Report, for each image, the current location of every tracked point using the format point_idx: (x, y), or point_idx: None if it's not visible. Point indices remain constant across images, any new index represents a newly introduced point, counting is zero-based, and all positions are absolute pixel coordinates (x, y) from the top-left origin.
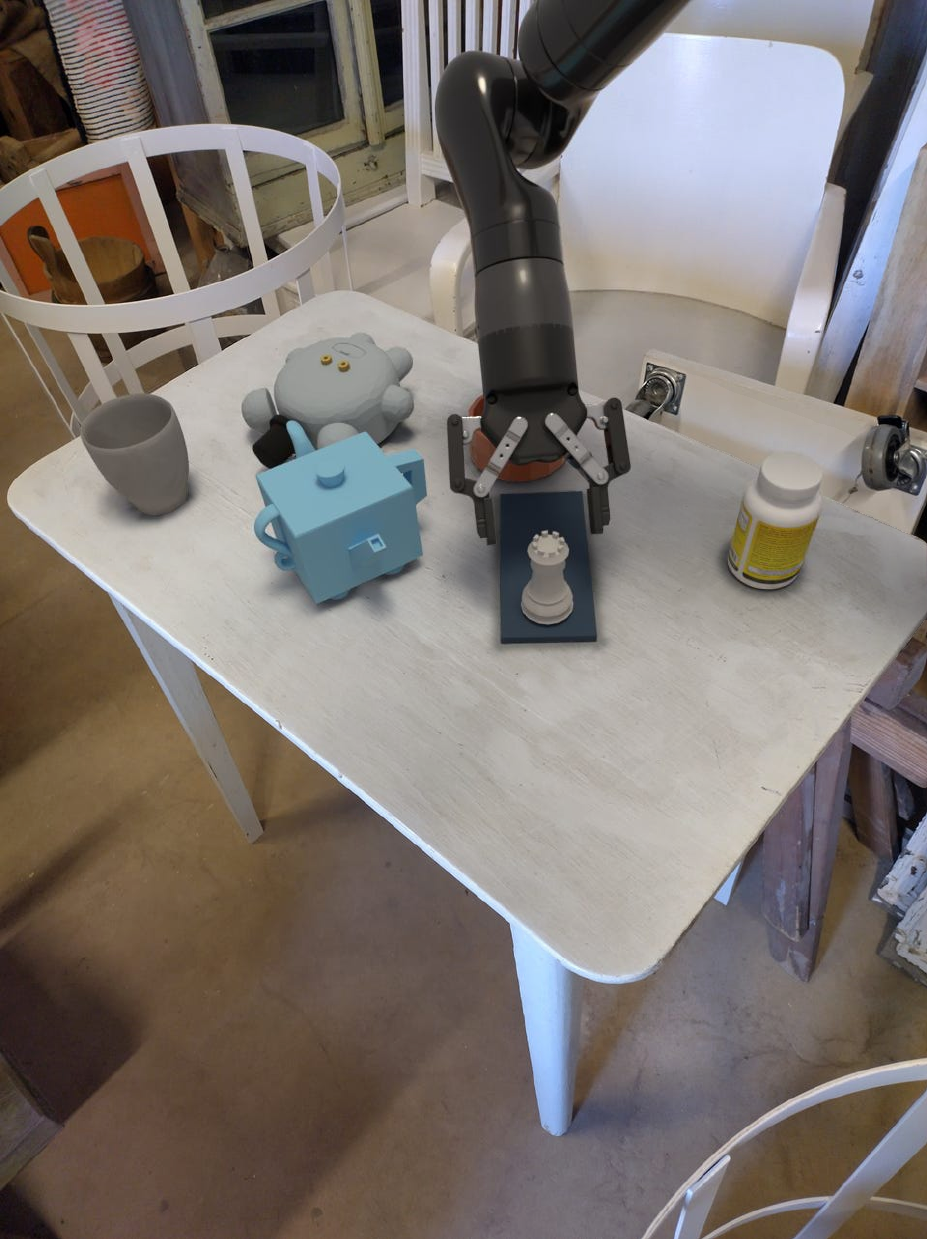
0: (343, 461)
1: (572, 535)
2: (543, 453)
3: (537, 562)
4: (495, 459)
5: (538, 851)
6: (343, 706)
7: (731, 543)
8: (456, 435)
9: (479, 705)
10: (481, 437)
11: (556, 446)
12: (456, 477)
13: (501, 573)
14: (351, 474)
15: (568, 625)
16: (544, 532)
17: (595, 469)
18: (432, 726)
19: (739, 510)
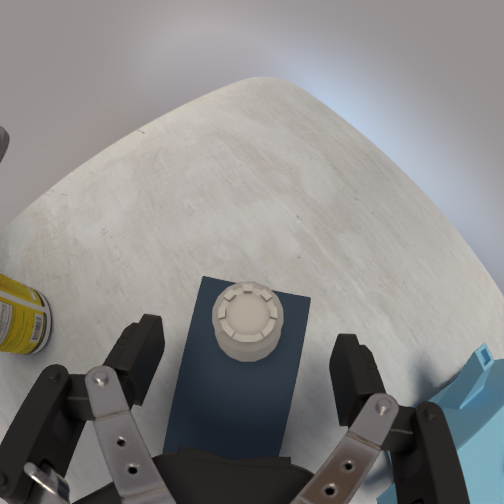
0: (496, 489)
1: (184, 436)
2: (216, 468)
3: (272, 292)
4: (363, 457)
5: (304, 121)
6: (444, 257)
7: (33, 334)
8: (452, 502)
9: (339, 231)
10: None
11: (173, 473)
12: (435, 423)
13: (291, 397)
14: (498, 468)
15: None
16: (249, 337)
17: (103, 394)
18: (379, 220)
19: (3, 333)
